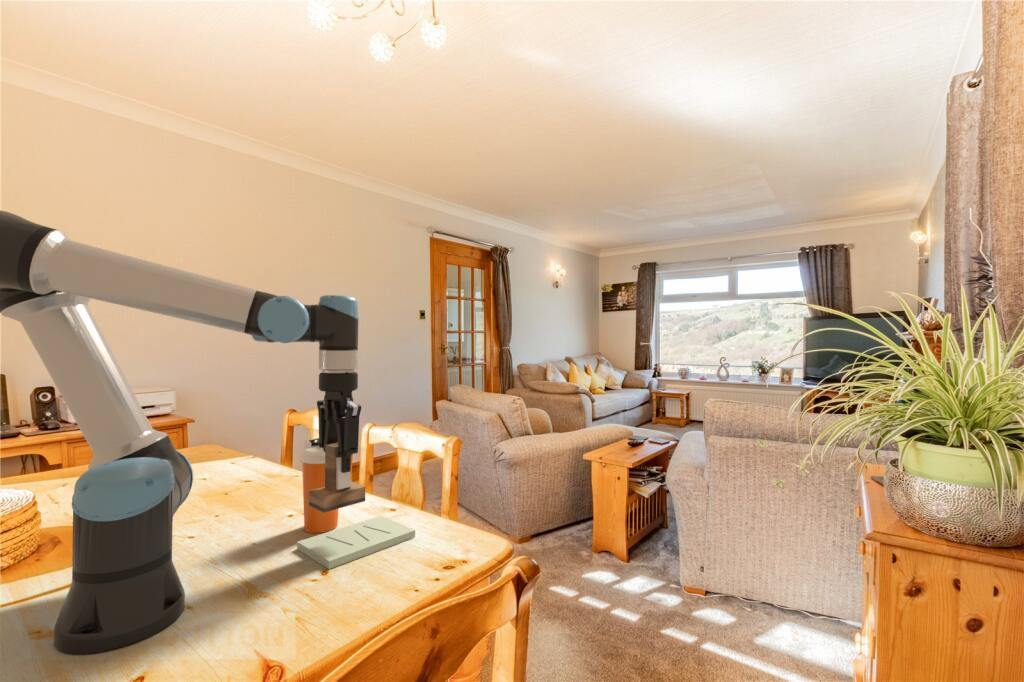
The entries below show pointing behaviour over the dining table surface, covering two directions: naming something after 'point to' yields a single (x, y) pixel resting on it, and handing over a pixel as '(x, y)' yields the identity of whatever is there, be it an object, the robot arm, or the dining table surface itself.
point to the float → (334, 487)
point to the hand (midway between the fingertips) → (337, 485)
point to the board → (354, 541)
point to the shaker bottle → (313, 480)
